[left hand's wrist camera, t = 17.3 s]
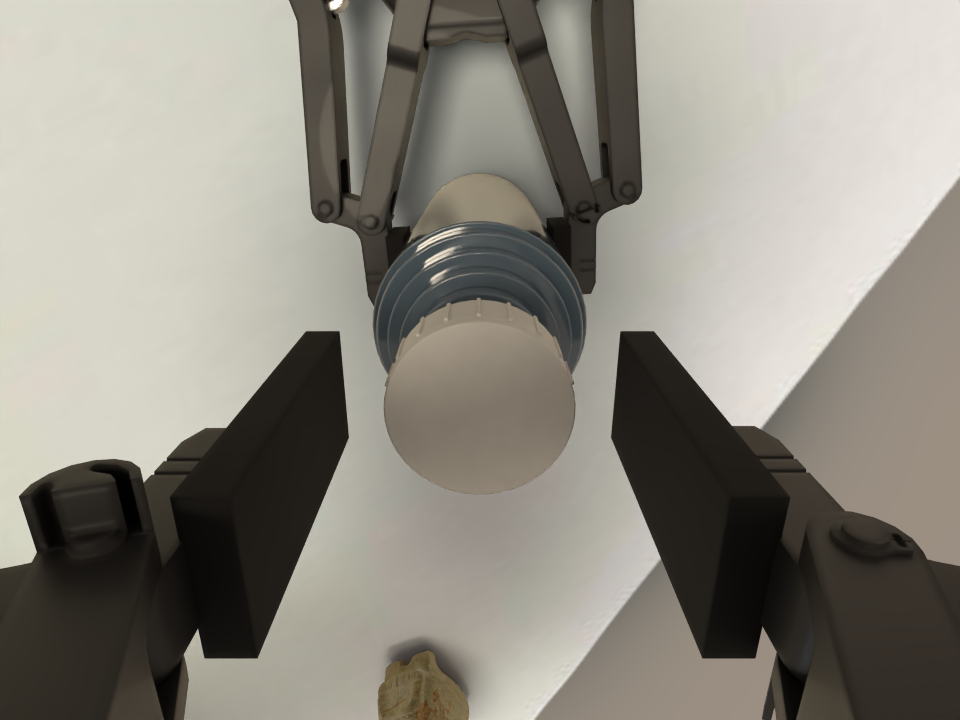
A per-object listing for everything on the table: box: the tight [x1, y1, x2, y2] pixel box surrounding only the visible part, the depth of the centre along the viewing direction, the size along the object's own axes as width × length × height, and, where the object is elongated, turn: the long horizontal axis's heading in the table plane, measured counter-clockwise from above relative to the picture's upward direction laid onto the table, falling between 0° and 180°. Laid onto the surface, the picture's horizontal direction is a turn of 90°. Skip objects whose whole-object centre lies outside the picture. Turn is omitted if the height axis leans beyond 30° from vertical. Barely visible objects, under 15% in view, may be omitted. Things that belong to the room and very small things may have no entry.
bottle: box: [373, 173, 587, 374], centre depth 23 cm, size 6×6×21 cm
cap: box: [384, 298, 575, 494], centre depth 14 cm, size 4×4×2 cm
